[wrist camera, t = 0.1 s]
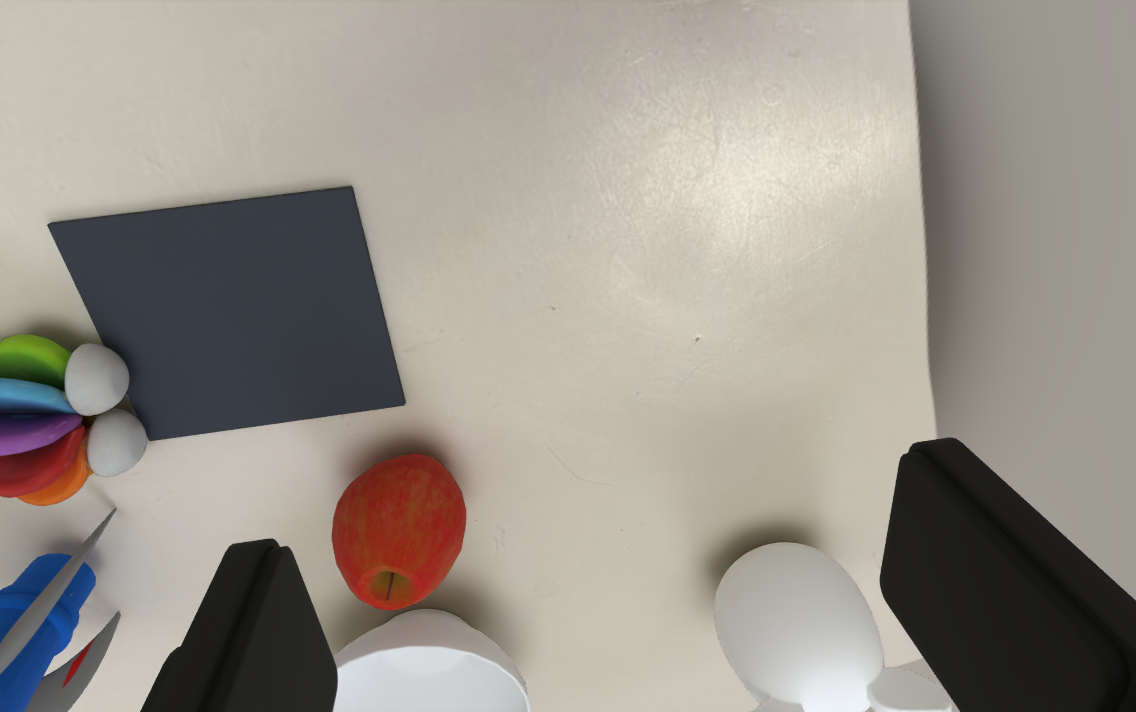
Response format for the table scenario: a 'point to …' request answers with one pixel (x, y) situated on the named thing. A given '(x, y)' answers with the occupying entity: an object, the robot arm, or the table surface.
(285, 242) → the mat
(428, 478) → the apple
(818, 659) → the piggy bank
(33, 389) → the rainbow petal flower
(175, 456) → the table surface
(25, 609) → the toy rocket
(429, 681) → the bowl
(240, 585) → the robot arm
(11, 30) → the table surface
